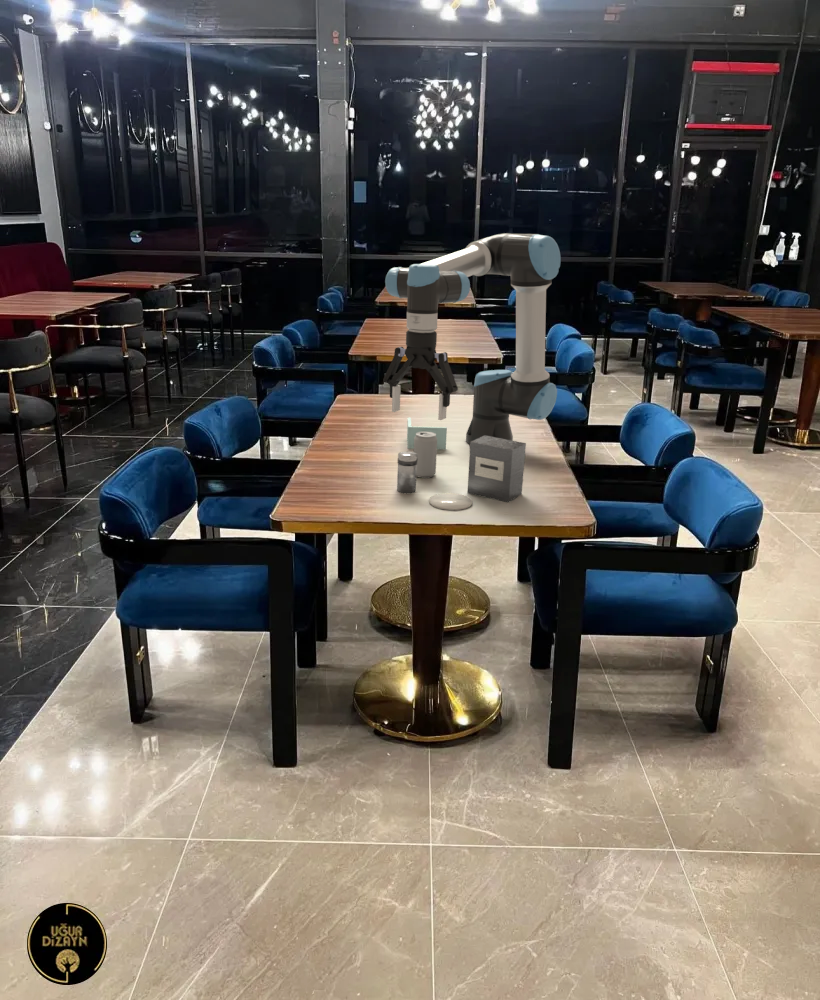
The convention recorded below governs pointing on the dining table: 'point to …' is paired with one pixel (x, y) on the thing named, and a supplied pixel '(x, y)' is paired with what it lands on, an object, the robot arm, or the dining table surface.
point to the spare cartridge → (407, 472)
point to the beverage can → (425, 453)
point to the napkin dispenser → (496, 468)
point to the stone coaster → (450, 501)
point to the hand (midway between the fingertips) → (418, 415)
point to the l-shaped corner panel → (439, 431)
